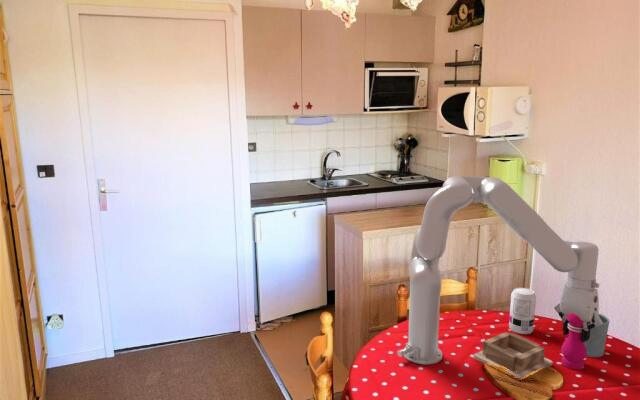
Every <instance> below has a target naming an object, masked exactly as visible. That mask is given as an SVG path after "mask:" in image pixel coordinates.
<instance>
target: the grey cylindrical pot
mask: <svg viewBox="0 0 640 400" xmlns="http://www.w3.org/2000/svg"><path fill="white" fill-rule="evenodd" d="M598 315H599V317H600V319H601V320H602V322H603V324H602V325H600V326H597V327H594V328H592V329H590V338H589V340H587V341H585V342H584V344H585V347H586V350H587V357H590V358H601V357H602V356H604V354H605V349H606V341H607V335H608V332H609V326H610V319H609V318H608V317H607V316H606V315H603V314H601V313H598ZM591 322H592V323H595V320H594V319H592V320H591Z"/></svg>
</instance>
